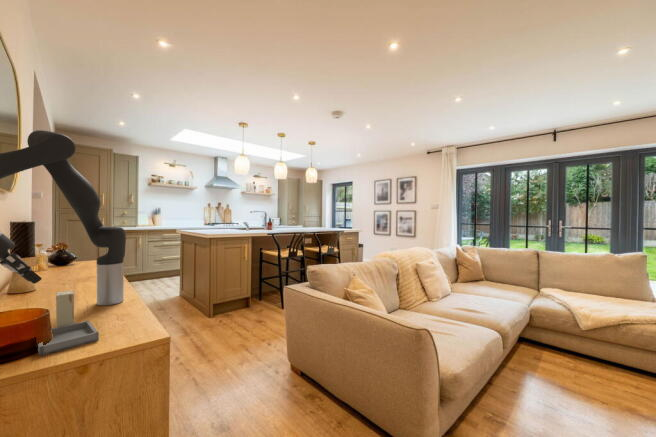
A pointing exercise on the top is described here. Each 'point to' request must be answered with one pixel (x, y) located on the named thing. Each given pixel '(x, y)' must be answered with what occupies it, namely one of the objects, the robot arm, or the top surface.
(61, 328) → the tray
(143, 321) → the top surface
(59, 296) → the skincare box
